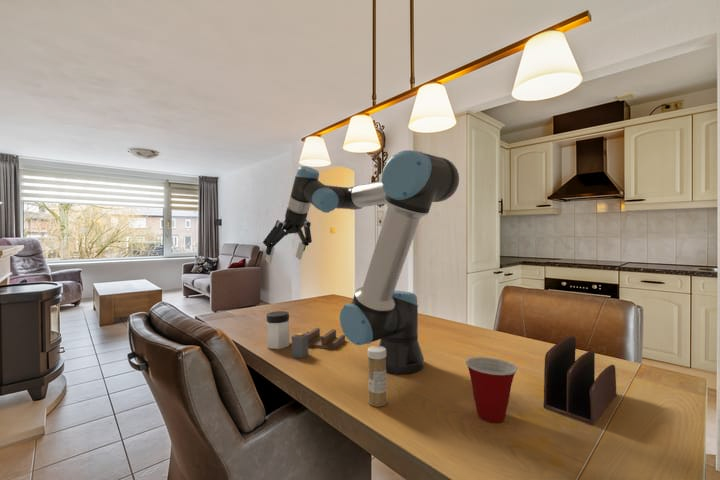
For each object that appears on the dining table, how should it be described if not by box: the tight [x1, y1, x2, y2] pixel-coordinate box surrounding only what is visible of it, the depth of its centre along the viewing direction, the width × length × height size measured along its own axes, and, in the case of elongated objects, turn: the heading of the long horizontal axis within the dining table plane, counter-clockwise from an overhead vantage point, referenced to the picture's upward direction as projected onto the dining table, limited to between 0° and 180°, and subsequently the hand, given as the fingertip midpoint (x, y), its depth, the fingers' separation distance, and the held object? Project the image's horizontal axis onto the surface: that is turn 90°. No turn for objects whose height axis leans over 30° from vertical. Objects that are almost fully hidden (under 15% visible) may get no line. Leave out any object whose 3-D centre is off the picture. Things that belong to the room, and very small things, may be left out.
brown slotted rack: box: [304, 327, 346, 350], centre depth 128 cm, size 16×10×4 cm, turn 71°
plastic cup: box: [465, 356, 518, 424], centre depth 76 cm, size 11×11×12 cm
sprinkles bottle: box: [367, 345, 387, 407], centre depth 82 cm, size 5×5×13 cm
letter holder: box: [543, 335, 617, 426], centre depth 81 cm, size 10×20×14 cm, turn 131°
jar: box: [266, 310, 290, 350], centre depth 126 cm, size 9×8×12 cm
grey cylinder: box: [291, 332, 309, 359], centre depth 115 cm, size 4×4×8 cm
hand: (283, 259), depth 129 cm, fingers open, 13 cm apart
